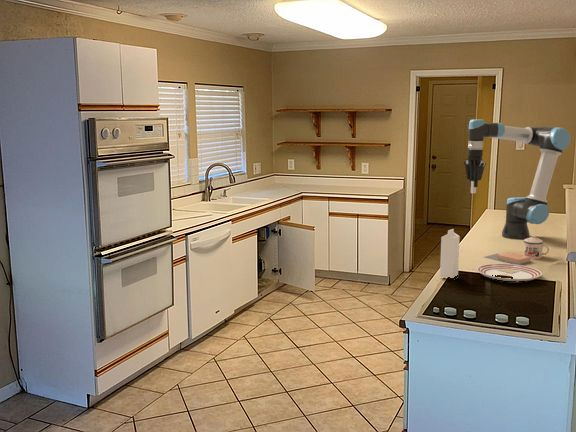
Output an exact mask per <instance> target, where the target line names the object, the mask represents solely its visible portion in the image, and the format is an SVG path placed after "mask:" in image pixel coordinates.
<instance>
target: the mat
mask: <svg viewBox="0 0 576 432" xmlns="http://www.w3.org/2000/svg"><path fill="white" fill-rule="evenodd" d="M498 254H499V253H495V254H494V253H493V254H490V255H485V256H483V258H485V259H489V260H493V261H497V262H502V263H504V264H514V263H509V262H505V261H501V260H497V257H498ZM533 262H534V261H533V260H530V262H527V263H524V264H520V265H522V266H523V265H526V264H529V263H533ZM515 265H518V264H515Z"/></svg>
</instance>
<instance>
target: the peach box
mask: <svg viewBox="0 0 576 432" xmlns="http://www.w3.org/2000/svg"><path fill="white" fill-rule="evenodd" d="M497 254H498V257H497V260H501V261H505V262H509V263H514V264H518V265H520V264H522V265H525V264H524V263H526V264H528V263H527V262H530V261H531V259H530V257H529V256H525V255H523V254H519V253H514V252H511V251H508V252H504V253H497ZM497 260H496V261H497ZM501 261H500V262H501ZM505 262H504V263H505ZM509 263H508V264H509ZM530 263H531V262H530Z"/></svg>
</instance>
